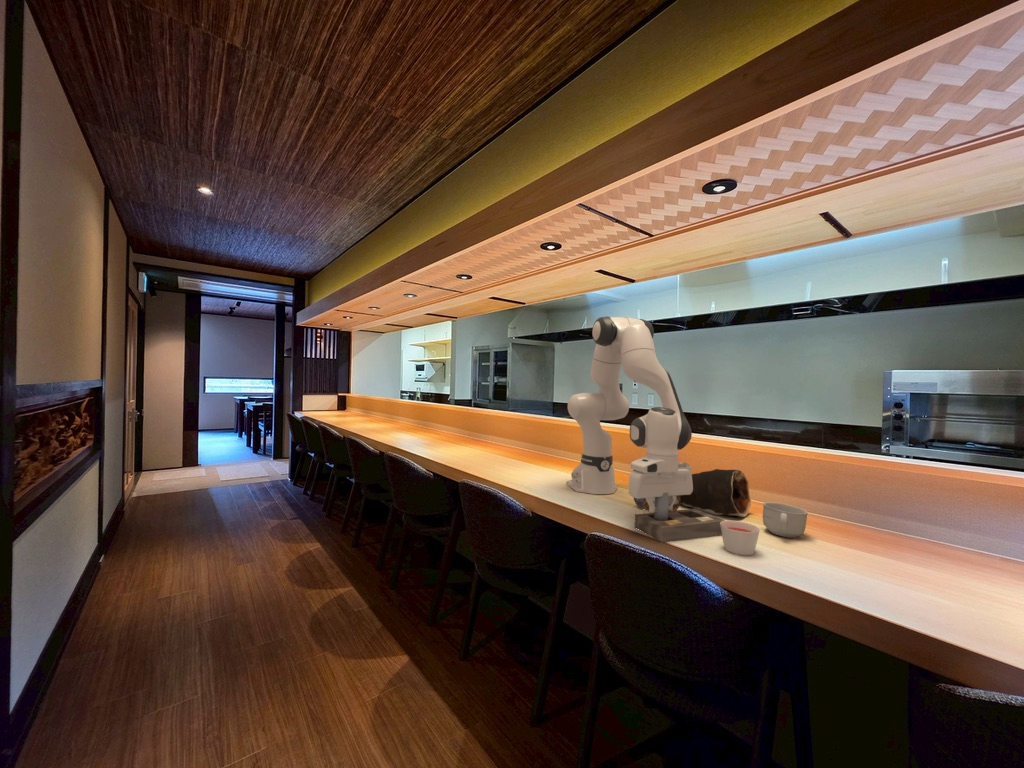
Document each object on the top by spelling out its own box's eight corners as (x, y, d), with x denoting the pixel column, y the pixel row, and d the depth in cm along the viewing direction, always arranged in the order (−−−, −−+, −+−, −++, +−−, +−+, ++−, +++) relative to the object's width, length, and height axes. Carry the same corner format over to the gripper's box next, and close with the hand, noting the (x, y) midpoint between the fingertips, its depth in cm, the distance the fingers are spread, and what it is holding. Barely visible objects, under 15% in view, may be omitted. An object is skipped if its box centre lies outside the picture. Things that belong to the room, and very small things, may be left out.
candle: (743, 560, 102) (744, 534, 102) (711, 546, 110) (712, 522, 110) (767, 554, 106) (767, 529, 106) (734, 542, 114) (735, 518, 114)
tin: (633, 508, 144) (633, 483, 144) (634, 506, 146) (635, 482, 146) (679, 515, 137) (680, 489, 137) (680, 513, 139) (681, 487, 139)
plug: (650, 524, 122) (651, 489, 122) (661, 522, 123) (662, 489, 123) (659, 528, 118) (660, 493, 118) (671, 527, 120) (671, 492, 120)
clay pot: (675, 466, 160) (744, 463, 141) (684, 505, 159) (755, 508, 140) (656, 476, 149) (728, 475, 131) (665, 518, 149) (739, 523, 130)
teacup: (768, 525, 128) (768, 499, 128) (810, 534, 121) (811, 507, 121) (754, 536, 119) (755, 507, 119) (799, 547, 111) (800, 517, 111)
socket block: (634, 527, 123) (635, 513, 123) (694, 521, 131) (694, 507, 131) (662, 542, 112) (662, 526, 112) (725, 534, 119) (725, 519, 119)
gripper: (683, 460, 127) (682, 505, 127) (625, 463, 121) (624, 510, 121) (698, 464, 121) (697, 511, 121) (639, 467, 115) (638, 517, 115)
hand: (660, 511), depth 121 cm, fingers closed on plug, 4 cm apart
